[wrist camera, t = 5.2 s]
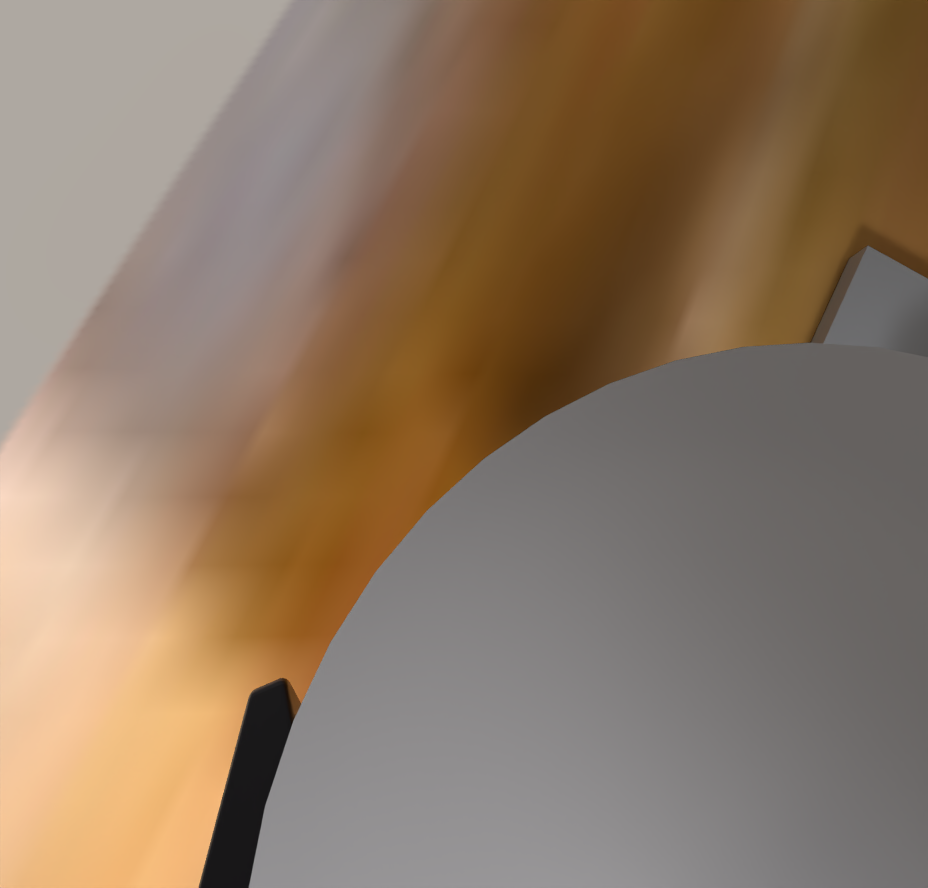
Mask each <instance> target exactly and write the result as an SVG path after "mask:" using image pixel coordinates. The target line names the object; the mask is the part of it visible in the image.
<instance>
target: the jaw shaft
mask: <svg viewBox="0 0 928 888" xmlns="http://www.w3.org/2000/svg"><path fill="white" fill-rule="evenodd" d="M249 888H928V357H924V356H919V355H914V354H909V353H904V352H899V351H894V350H890V349H885V348H880V347H866V346H852V345H837V344H823V343H798V344H783V345H767V346H751V347H741V348H736V349H731V350H726V351H721V352H716V353H711V354H706V355H701V356H696V357H691V358H686V359H681V360H676V361H673V362H670V363H667V364H664V365H662V366H659V367H656V368H653V369H650V370H647V371H644V372H641V373H639V374H636V375H633V376H630V377H627V378H624V379H621V380H618V381H616V382H613V383H610V384H608V385H606V386H604V387H602V388H600V389H598V390H596V391H594V392H592V393H590V394H588V395H586V396H584V397H582V398H580V399H578V400H576V401H574V402H572V403H570V404H568V405H566V406H564V407H563V408H561V409H559V410H557V411H555V412H553V413H551V414H549V415H547V416H545V417H543V418H542V419H541V420H539V421H538V422H536V423H535V424H533V425H532V426H530V427H529V428H528V429H526V430H525V431H523V432H522V433H520V434H519V435H518V436H516V437H515V438H513V439H512V440H510V441H509V442H507V443H506V444H505V445H503V446H502V447H500V448H499V449H497V450H496V451H495V452H493V453H492V454H490V455H489V456H487V457H486V458H484V459H483V460H482V461H481V462H480V463H479V464H478V465H477V466H476V467H474V468H473V469H472V470H471V471H470V472H469V473H468V474H467V475H466V476H465V477H464V478H462V479H461V480H460V481H459V482H458V483H457V484H456V485H455V486H454V487H453V488H452V489H450V490H449V491H448V492H447V493H446V494H445V495H444V496H443V497H442V498H441V499H439V500H438V501H437V502H436V503H435V504H434V505H433V506H432V507H431V508H430V509H429V510H427V512H426V513H425V514H424V515H423V516H422V518H421V519H420V520H419V521H418V522H417V523H416V525H415V526H414V527H413V528H412V529H411V531H410V532H409V533H408V534H407V535H406V537H405V538H404V539H403V540H402V541H401V543H400V544H399V545H398V546H397V547H396V548H395V550H394V551H393V552H392V553H391V554H390V556H389V557H388V558H387V559H386V560H385V562H384V563H383V564H382V565H381V566H380V568H379V569H378V570H377V571H376V572H375V574H374V576H373V577H372V579H371V580H370V582H369V583H368V585H367V586H366V588H365V590H364V591H363V593H362V594H361V596H360V597H359V599H358V600H357V602H356V604H355V605H354V607H353V608H352V610H351V611H350V613H349V615H348V616H347V618H346V619H345V621H344V622H343V624H342V625H341V627H340V629H339V630H338V632H337V633H336V635H335V636H334V638H333V639H332V641H331V643H330V645H329V647H328V649H327V651H326V653H325V655H324V657H323V660H322V662H321V664H320V666H319V668H318V670H317V672H316V674H315V676H314V679H313V681H312V683H311V685H310V687H309V689H308V691H307V693H306V695H305V697H304V700H303V702H302V704H301V706H300V708H299V710H298V712H297V714H296V716H295V718H294V721H293V724H292V727H291V730H290V733H289V736H288V739H287V742H286V745H285V748H284V751H283V754H282V757H281V760H280V763H279V766H278V769H277V772H276V775H275V778H274V781H273V784H272V787H271V790H270V793H269V796H268V799H267V802H266V805H265V809H264V814H263V819H262V824H261V829H260V834H259V839H258V844H257V849H256V854H255V859H254V864H253V869H252V874H251V879H250V884H249Z"/></svg>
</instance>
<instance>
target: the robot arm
mask: <svg viewBox="0 0 928 888" xmlns="http://www.w3.org/2000/svg"><path fill="white" fill-rule="evenodd" d="M300 706H301V703H300V701H299V699H298V697H297V695H296V693H295V691H294V689H293V687H292V686H291V684H290V682H289V681H288V680H287V679H284V678H280V679H278V680H275V681H273V682H271V683H268V684H266V685H264V686H261V687H259V688H257V689H255V690H253V691H252V693H251V694H250V696H249V699H248V702H247V706H246V710H245V713H244V717H243V721H242V725H241V728H240V732H239V736H238V740H237V744H236V747H235V751H234V755H233V759H232V763H231V766H230V770H229V774H228V778H227V782H226V785H225V789H224V793H223V797H222V801H221V804H220V808H219V812H218V816H217V820H216V823H215V827H214V831H213V835H212V839H211V842H210V846H209V850H208V854H207V858H206V861H205V865H204V869H203V873H202V876H201V880H200V884H199V888H249V884H250V879H251V874H252V869H253V864H254V859H255V854H256V849H257V844H258V839H259V834H260V829H261V824H262V819H263V814H264V809H265V805H266V802H267V799H268V796H269V793H270V790H271V787H272V784H273V781H274V778H275V775H276V772H277V769H278V766H279V763H280V760H281V757H282V754H283V751H284V748H285V745H286V742H287V739H288V736H289V733H290V730H291V727H292V724H293V721H294V718H295V716H296V714H297V712H298V710H299V708H300Z"/></svg>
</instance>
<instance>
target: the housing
mask: <svg viewBox="0 0 928 888" xmlns="http://www.w3.org/2000/svg"><path fill="white" fill-rule="evenodd" d="M811 343H823V344H837V345H852V346H866V347H880V348H885V349H890V350H894V351H899V352H904V353H909V354H914V355H919V356H924V357H928V279H927V278H925V277H924V276H922V275H920V274H918V273H916V272H915V271H913V270H911V269H909V268H907V267H906V266H904V265H902V264H900V263H898V262H897V261H895V260H893V259H891V258H889V257H888V256H886V255H884V254H882V253H880V252H879V251H877V250H875V249H873V248H871V247H870V246H866V247H865V248H864V249H862V250H861V251H859V252H858V253H857V254H855V255H854V256H852V257H851V258H850V259H849V260H848V263H847V265H846V267H845V269H844V271H843V273H842V276H841V278H840V280H839V282H838V284H837V287H836V289H835V291H834V293H833V295H832V297H831V300H830V302H829V304H828V306H827V308H826V311H825V313H824V315H823V317H822V319H821V322H820V324H819V326H818V328H817V330H816V332H815V335H814V337H813V339H812V341H811Z"/></svg>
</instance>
